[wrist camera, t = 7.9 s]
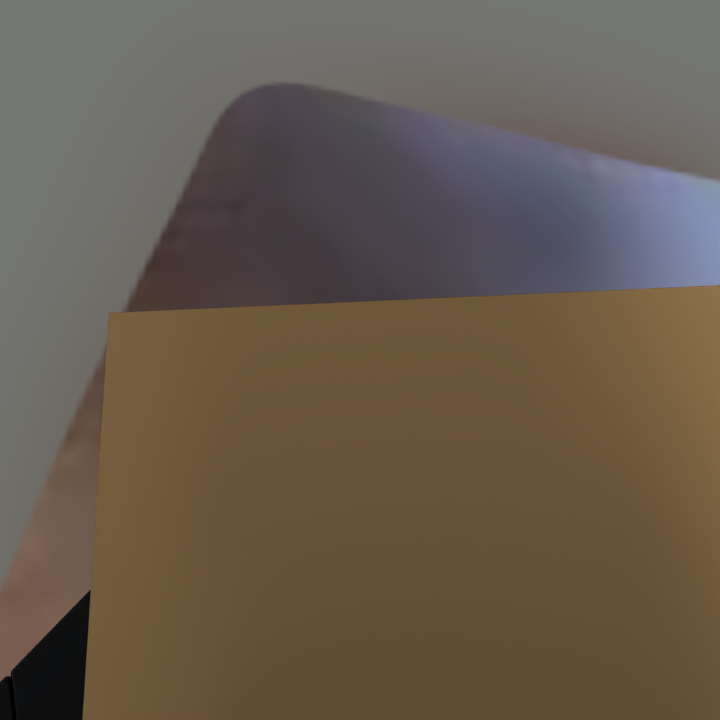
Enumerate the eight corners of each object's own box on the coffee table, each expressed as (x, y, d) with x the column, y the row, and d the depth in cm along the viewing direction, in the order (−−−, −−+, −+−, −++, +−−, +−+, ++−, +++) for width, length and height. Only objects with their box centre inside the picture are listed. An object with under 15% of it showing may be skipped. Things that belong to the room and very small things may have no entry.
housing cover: (714, 870, 7) (1008, 1179, 4) (195, 893, 7) (50, 1222, 4) (632, 364, 8) (791, 281, 5) (205, 383, 8) (108, 313, 5)
